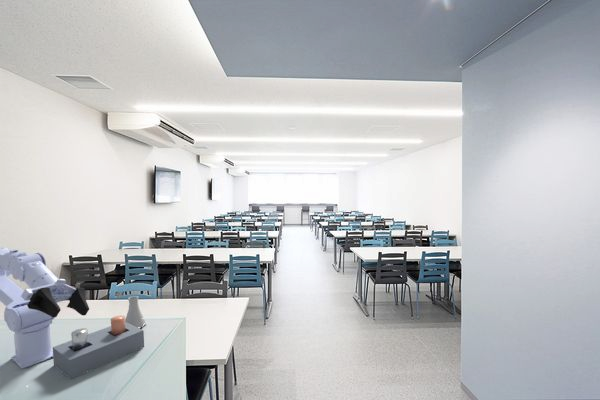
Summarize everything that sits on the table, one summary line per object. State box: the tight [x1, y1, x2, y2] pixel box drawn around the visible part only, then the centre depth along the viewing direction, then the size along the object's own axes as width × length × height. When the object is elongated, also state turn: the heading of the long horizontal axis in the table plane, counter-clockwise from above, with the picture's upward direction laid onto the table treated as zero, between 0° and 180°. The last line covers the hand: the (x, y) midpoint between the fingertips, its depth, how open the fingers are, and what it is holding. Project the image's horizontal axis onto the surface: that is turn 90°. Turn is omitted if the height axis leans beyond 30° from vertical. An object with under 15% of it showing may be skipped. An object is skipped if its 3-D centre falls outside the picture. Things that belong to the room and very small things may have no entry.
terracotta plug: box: [110, 315, 126, 336], centre depth 96 cm, size 4×4×4 cm
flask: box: [125, 295, 146, 327], centre depth 110 cm, size 7×7×10 cm
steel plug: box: [70, 328, 89, 351], centre depth 88 cm, size 4×4×4 cm
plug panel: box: [52, 322, 145, 380], centre depth 93 cm, size 11×19×5 cm, turn 145°
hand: (72, 312), depth 81 cm, fingers open, 7 cm apart
